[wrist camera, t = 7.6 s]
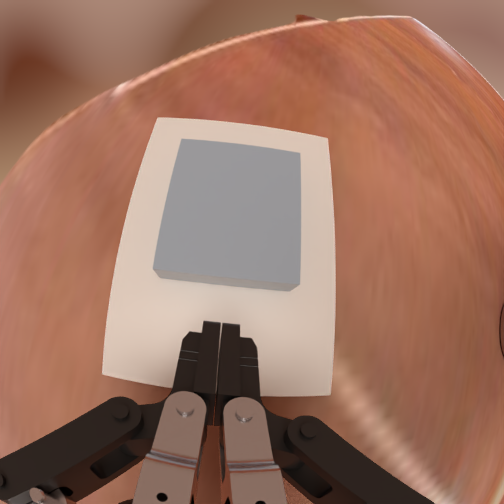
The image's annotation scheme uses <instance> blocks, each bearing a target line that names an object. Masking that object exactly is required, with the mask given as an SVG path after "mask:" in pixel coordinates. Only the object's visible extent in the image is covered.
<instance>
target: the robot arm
mask: <svg viewBox="0 0 504 504" xmlns="http://www.w3.org/2000/svg"><path fill="white" fill-rule="evenodd" d="M220 329H221V322H212V321H203V327H202V333H199V332H192V331H189V332H188V334H187V335H186V336H185V337H184V338H183V339H182V344H181V349H180V353H179V359H178V363H177V368H176V373H175V377H174V382H173V388H172V391H171V393H170V395H169V396H168V397H167V398H166V399H165V400H163V401H161V402H159V403H155V404H147V405H138V404H137V403H136V402H135V401H133V400H132V399H129V398H126V397H114V398H111V399H109V400H107V401H106V402H104V403H102V404H101V405H99V406H97V407H96V408H94V409H92V410H91V411H89V412H87V413H85V414H84V415H82V416H80V417H78V418H77V419H75V420H73V421H71V422H70V423H68V424H66V425H64V426H62V427H61V428H59V429H57V430H55V431H53V432H51V433H50V434H48V435H46V436H44V437H42V438H40V439H38V440H37V441H35V442H33V443H31V444H29V445H27V446H25V447H23V448H21V449H19V450H17V451H15V452H13V453H11V454H9V455H7V456H5V457H3V458H1V459H0V500H2V501H4V502H6V503H7V504H76V502H77V501H79V500H81V499H83V498H84V497H86V496H88V495H89V494H91V493H93V492H94V491H96V490H98V489H99V488H101V487H103V486H104V485H106V484H107V483H109V482H110V481H112V480H114V479H115V478H117V477H118V476H120V475H121V474H123V473H124V472H126V471H127V470H129V469H130V468H132V467H133V466H134V465H136V464H137V463H139V462H140V461H142V460H143V459H144V458H145V459H144V461H143V465H142V469H141V472H140V476H139V480H138V483H137V487H136V491H135V495H134V499H130V500H126V501H123V502H121V503H119V504H195V503H196V496H197V488H198V479H199V473H200V467H201V460H202V454H203V448H204V443H205V441H206V437H207V425H212V424H213V415H214V406H215V419H214V426H220V431H219V442H218V447H219V463H220V478H221V504H287V500H286V495H285V489H284V484H283V479H282V476H283V477H284V478H285V479H286V480H287V481H288V482H289V483H290V484H291V485H293V486H294V487H295V488H296V489H297V490H298V491H299V492H301V493H302V494H303V495H304V496H305V497H307V498H308V499H309V500H310V501H311V502H313V503H314V504H435V503H434V502H432V501H431V500H429V499H427V498H426V497H424V496H423V495H421V494H419V493H418V492H416V491H415V490H413V489H412V488H410V487H409V486H407V485H406V484H404V483H403V482H401V481H400V480H398V479H397V478H395V477H394V476H392V475H391V474H390V473H388V472H387V471H385V470H384V469H382V468H381V467H380V466H378V465H377V464H376V463H374V462H373V461H371V460H370V459H369V458H367V457H366V456H365V455H363V454H362V453H361V452H359V451H358V450H357V449H356V448H354V447H353V446H352V445H350V444H349V443H348V442H347V441H345V440H344V439H343V438H342V437H340V436H339V435H338V434H337V433H335V432H334V431H333V430H332V429H330V428H329V427H328V426H327V425H325V424H324V423H323V422H322V421H321V420H319V419H317V418H316V417H313V416H299V417H297V418H295V419H293V420H290V419H287V418H283V417H280V416H277V415H274V414H272V413H271V412H269V411H268V410H267V409H266V408H265V407H264V405H263V403H262V401H261V396H260V381H259V368H258V351H257V346H256V344H255V343H254V341H253V339H252V338H247V337H240V324H231V323H222V330H221V339H220ZM500 331H501V345H502V350H503V354H504V306H503V311H502V316H501V328H500ZM219 341H220V348H219ZM218 355H219V358H218ZM217 368H218V372H217ZM216 383H217V386H216ZM215 396H216V402H215Z"/></svg>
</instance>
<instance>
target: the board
mask: <svg viewBox="0 0 504 504" xmlns="http://www.w3.org/2000/svg"><path fill="white" fill-rule="evenodd" d="M181 139H195V140H207V141H218V142H227V143H236V144H245V145H252V146H260V147H267V148H273V149H280V150H286V151H292V152H298V153H300V157H301V270H300V285H299V286H297V287H296V288H294V289H293V290H291V291H278V290H266V289H255V288H245V287H235V286H225V285H216V284H206V283H197V282H189V281H180V280H172V279H164V278H160V277H159V276H158V275H157V274H156V273H155V271H154V270H153V263H154V257H155V251H156V246H157V241H158V235H159V230H160V225H161V220H162V215H163V211H164V206H165V202H166V197H167V193H168V189H169V184H170V180H171V176H172V172H173V168H174V164H175V161H176V157H177V153H178V149H179V146H180V142H181ZM335 301H336V264H335V228H334V208H333V192H332V179H331V167H330V156H329V146H328V138H324V137H319V136H315V135H310V134H305V133H299V132H294V131H288V130H283V129H277V128H270V127H264V126H257V125H249V124H241V123H233V122H223V121H212V120H200V119H184V118H157V121H156V124H155V126H154V129H153V132H152V134H151V137H150V140H149V143H148V145H147V148H146V151H145V154H144V157H143V160H142V163H141V166H140V170H139V173H138V176H137V179H136V183H135V186H134V190H133V193H132V197H131V200H130V204H129V208H128V212H127V215H126V219H125V223H124V228H123V232H122V236H121V241H120V245H119V250H118V255H117V260H116V265H115V270H114V276H113V281H112V287H111V294H110V300H109V307H108V315H107V323H106V332H105V342H104V353H103V368H102V374H103V375H107V376H111V377H116V378H120V379H125V380H129V381H134V382H139V383H144V384H150V385H156V386H162V387H168V388H173V382H174V377H175V373H176V368H177V363H178V359H179V353H180V349H181V344H182V339H183V338H184V337H185V336H186V335H187V334H188V332H189V331H192V332H199V333H202V327H203V321H212V322H221V329H220V339H221V330H222V323H231V324H240V337H247V338H252V339H253V341H254V343H255V344H256V346H257V351H258V368H259V381H260V396H325V395H331V385H332V372H333V356H334V337H335ZM219 348H220V341H219ZM218 358H219V355H218ZM217 372H218V368H217ZM216 386H217V383H216Z"/></svg>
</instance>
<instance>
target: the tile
mask: <svg viewBox="0 0 504 504" xmlns="http://www.w3.org/2000/svg"><path fill="white" fill-rule="evenodd" d="M153 270H154V271H155V273H156V274H157V275H158V276H159V277H160V278H164V279H172V280H180V281H189V282H197V283H206V284H216V285H225V286H235V287H245V288H255V289H266V290H278V291H291V290H293V289H294V288H296V287H297V286H299V285H300V270H301V157H300V153H298V152H292V151H286V150H280V149H273V148H267V147H260V146H252V145H245V144H236V143H227V142H218V141H207V140H195V139H181V142H180V146H179V149H178V153H177V157H176V161H175V164H174V168H173V172H172V176H171V180H170V184H169V189H168V193H167V197H166V202H165V206H164V211H163V215H162V220H161V225H160V230H159V235H158V241H157V246H156V251H155V257H154V263H153Z"/></svg>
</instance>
